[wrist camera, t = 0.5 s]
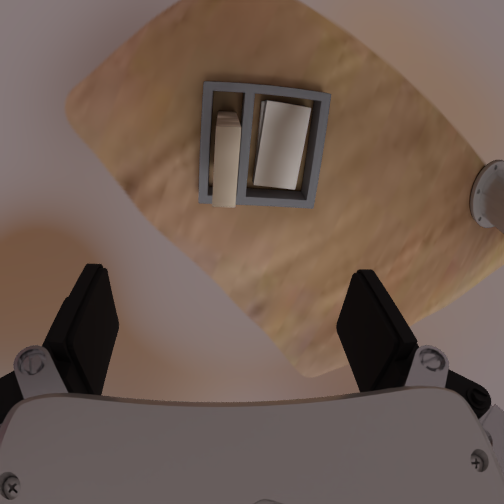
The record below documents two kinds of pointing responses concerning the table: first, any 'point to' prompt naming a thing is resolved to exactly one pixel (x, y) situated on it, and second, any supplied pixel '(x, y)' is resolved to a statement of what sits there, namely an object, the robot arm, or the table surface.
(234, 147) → the birch sheet
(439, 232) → the table surface
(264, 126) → the offcut upper
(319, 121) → the rack
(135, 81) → the table surface
